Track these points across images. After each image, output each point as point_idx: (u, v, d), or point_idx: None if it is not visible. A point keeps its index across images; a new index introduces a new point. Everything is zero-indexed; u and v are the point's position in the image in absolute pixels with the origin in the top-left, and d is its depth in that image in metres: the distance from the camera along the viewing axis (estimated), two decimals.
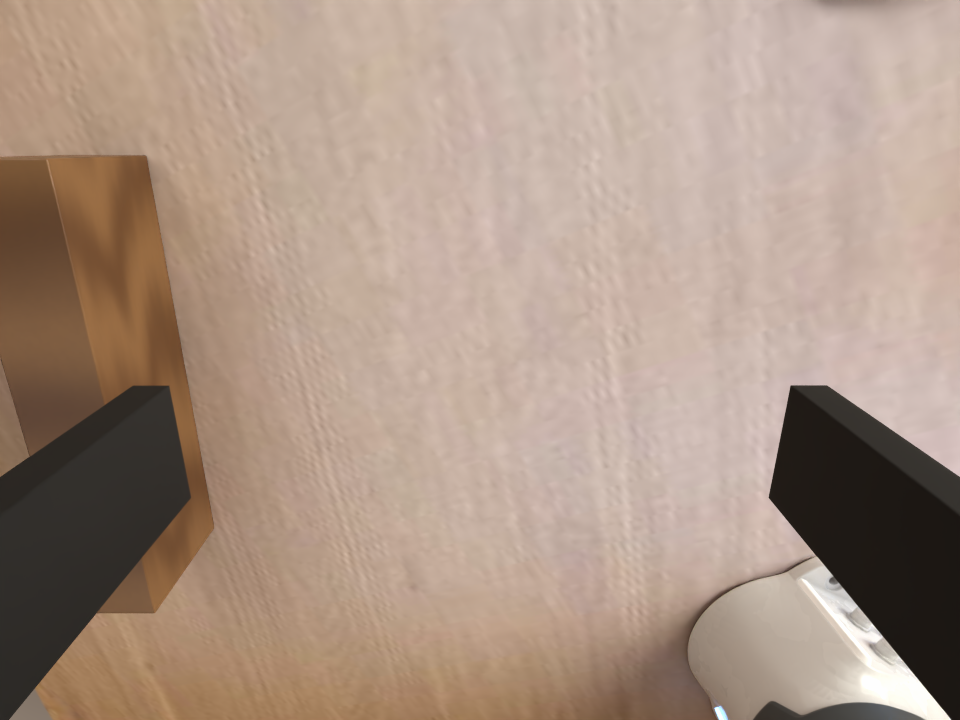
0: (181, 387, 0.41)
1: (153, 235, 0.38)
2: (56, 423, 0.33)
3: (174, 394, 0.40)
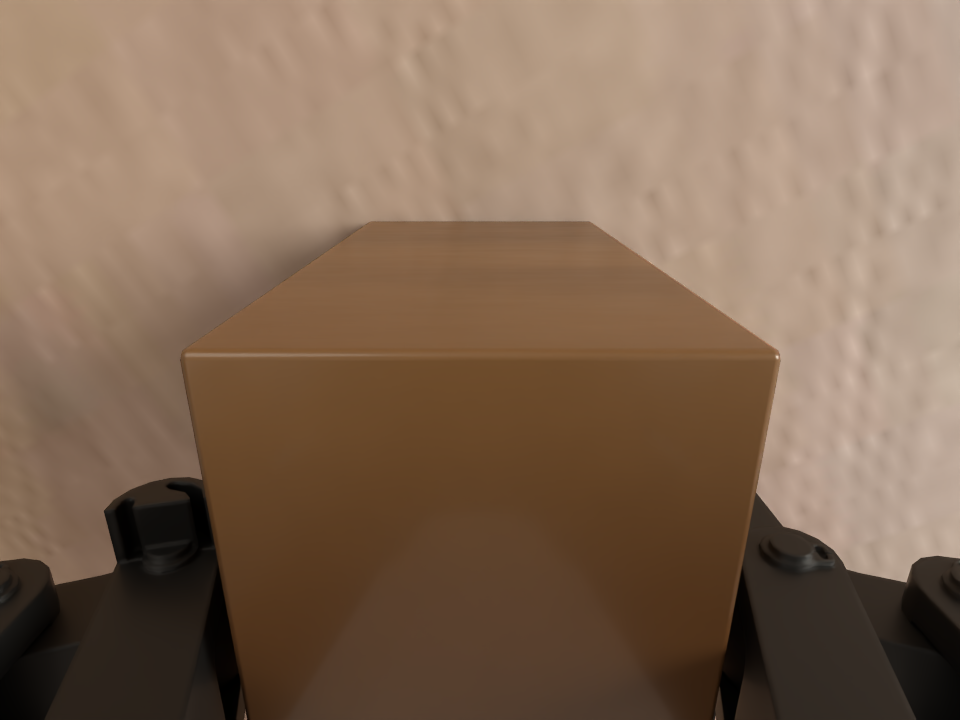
0: None
1: None
2: None
3: None
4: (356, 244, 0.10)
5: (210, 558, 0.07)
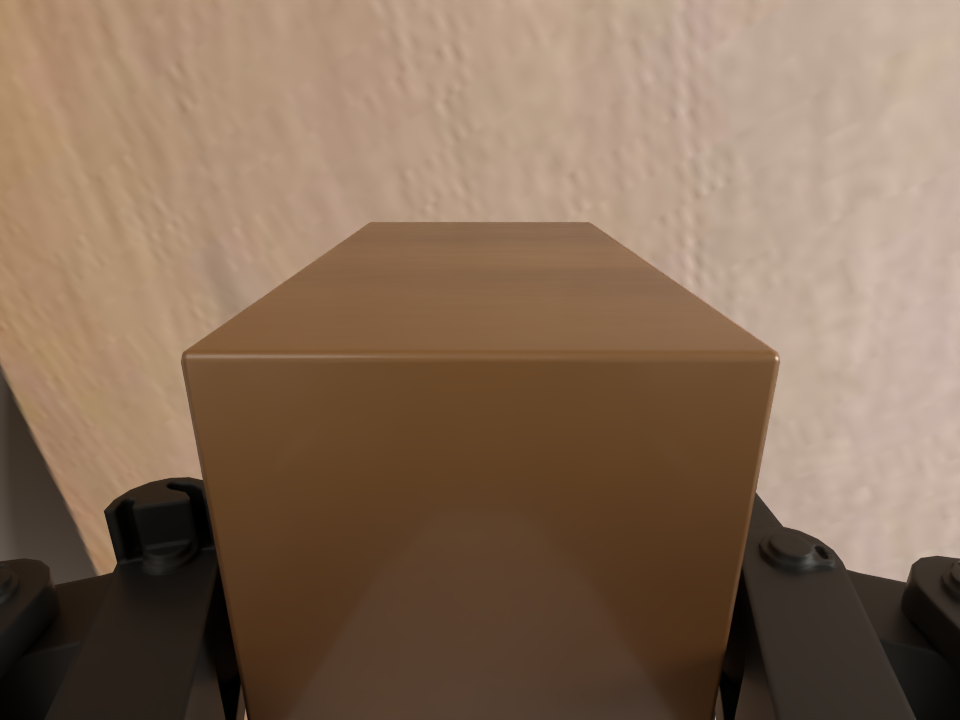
0: None
1: None
2: None
3: None
4: (356, 245, 0.10)
5: (210, 558, 0.07)
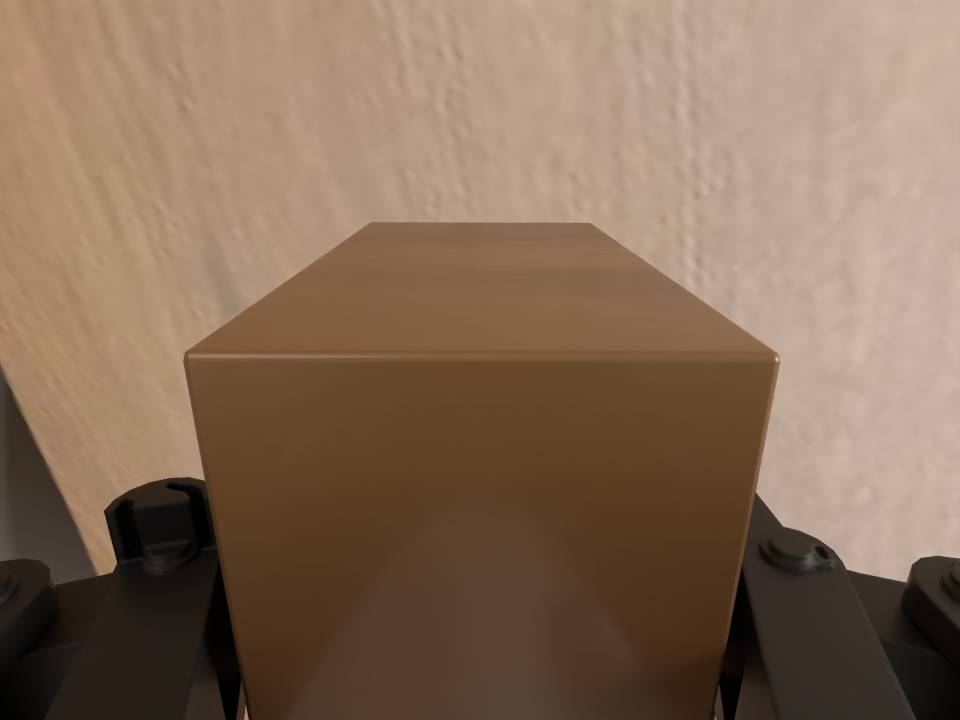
0: None
1: None
2: None
3: None
4: (357, 245, 0.10)
5: (210, 558, 0.07)
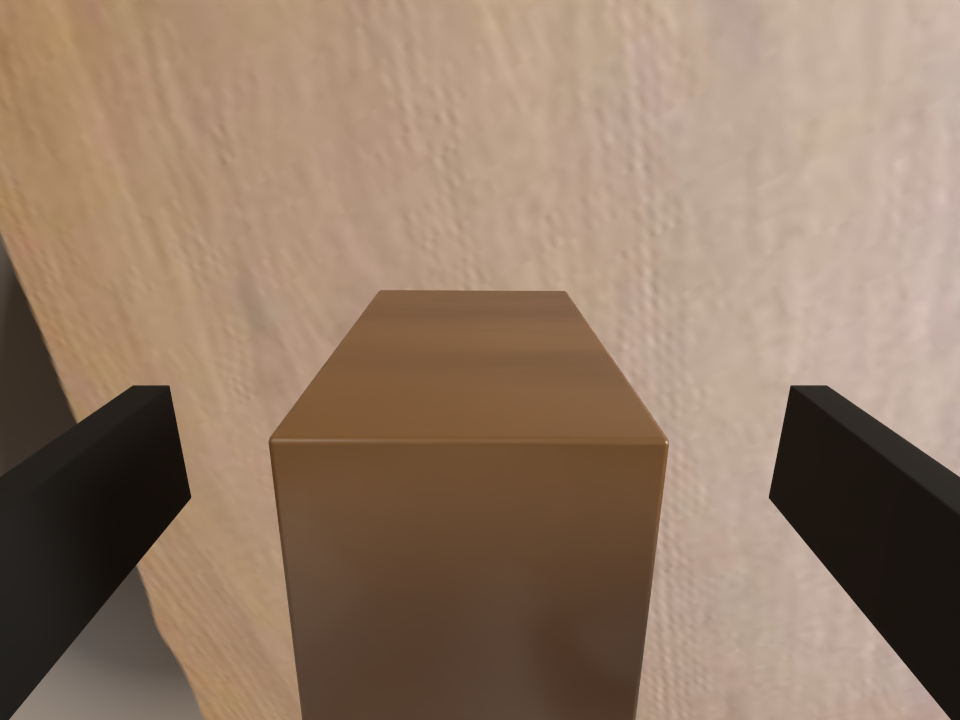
0: None
1: None
2: None
3: None
4: (372, 321, 0.13)
5: None
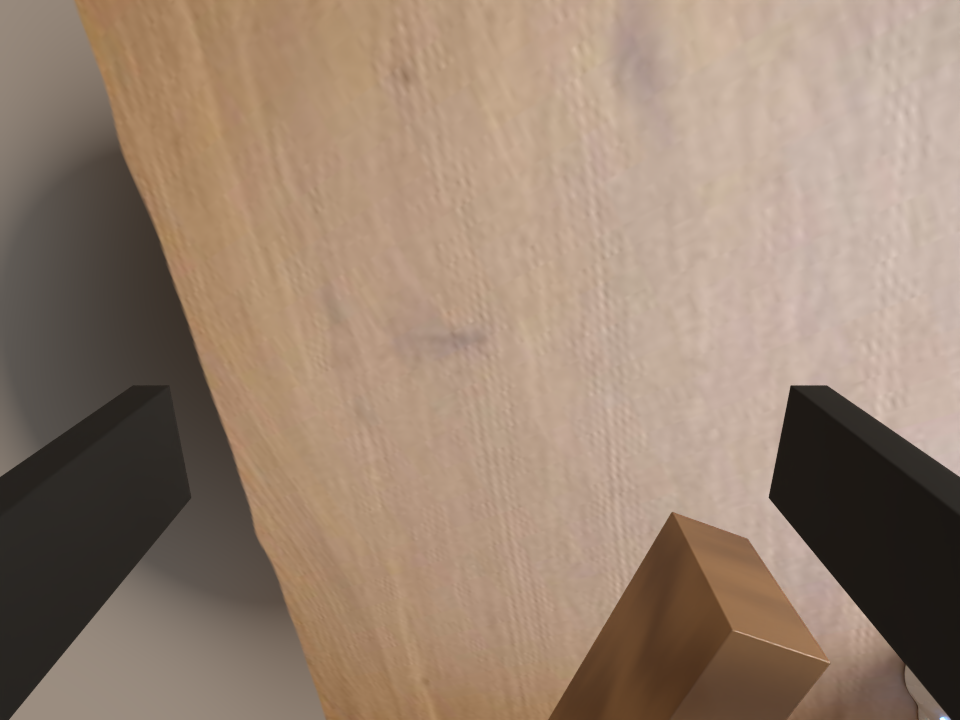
0: None
1: None
2: None
3: None
4: (696, 550, 0.32)
5: None
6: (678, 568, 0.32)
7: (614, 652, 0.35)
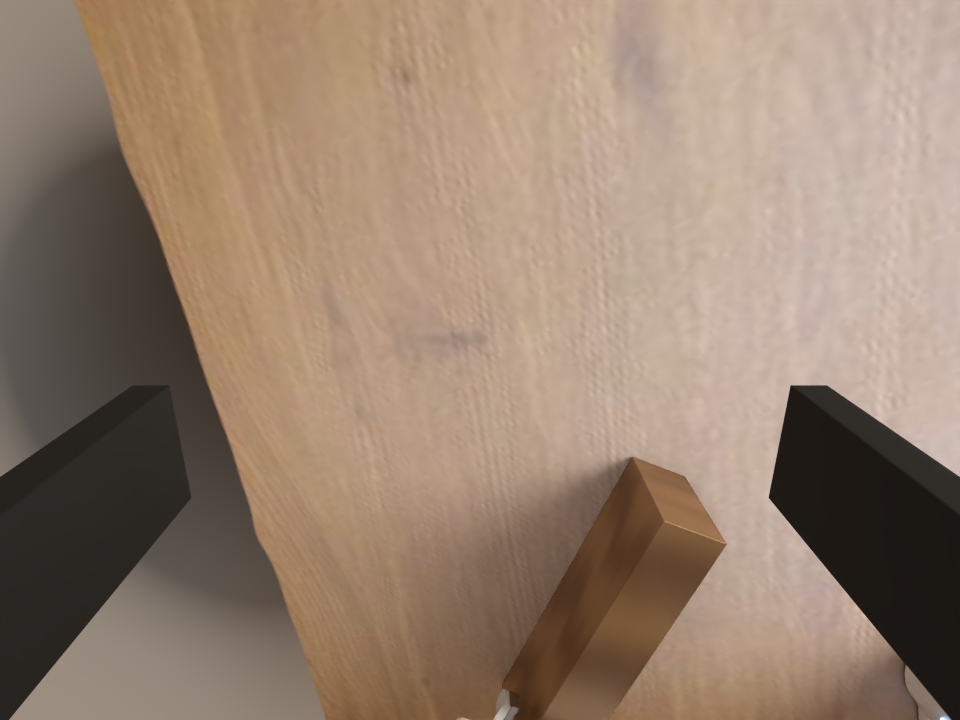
0: None
1: None
2: (599, 671, 0.46)
3: None
4: (647, 479, 0.47)
5: None
6: (634, 491, 0.47)
7: (591, 555, 0.50)
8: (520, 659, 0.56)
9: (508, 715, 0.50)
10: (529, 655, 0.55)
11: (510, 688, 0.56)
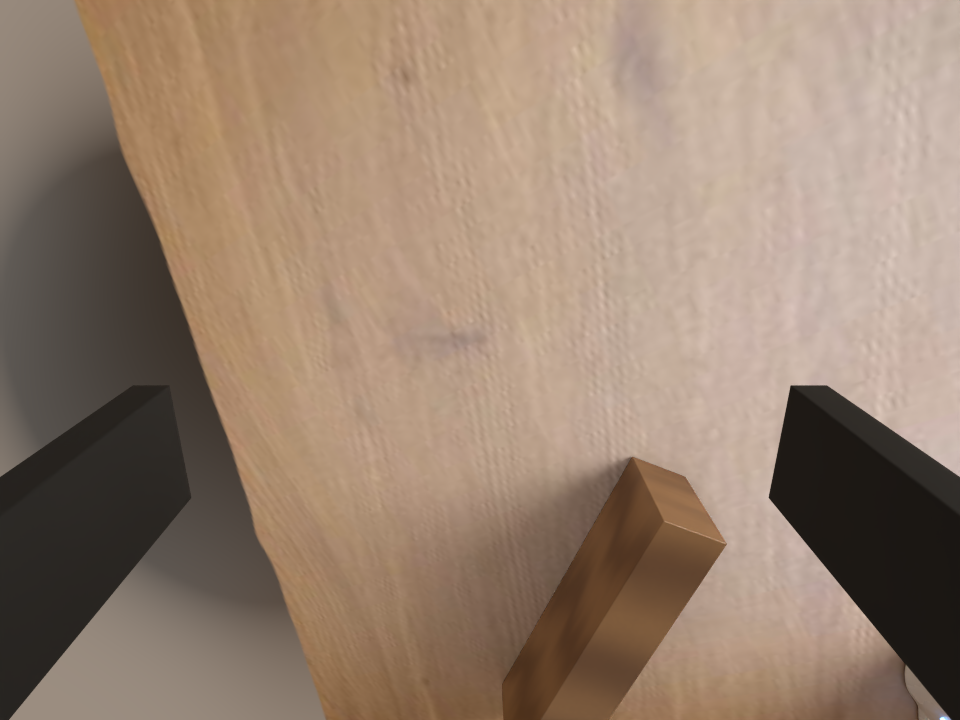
0: None
1: None
2: (599, 671, 0.46)
3: None
4: (647, 479, 0.47)
5: None
6: (634, 491, 0.47)
7: (591, 555, 0.50)
8: (520, 659, 0.56)
9: None
10: (529, 655, 0.55)
11: (510, 688, 0.56)
